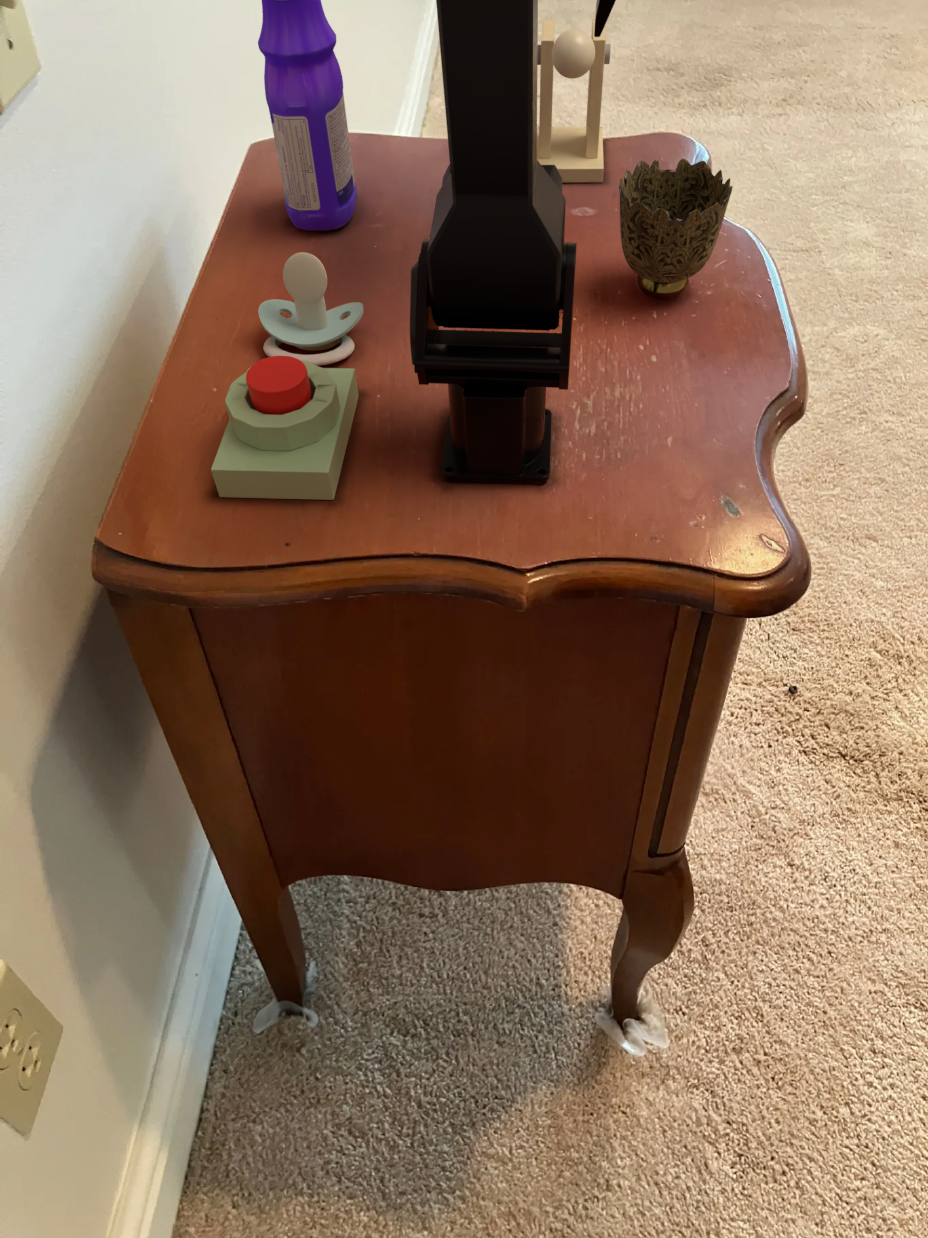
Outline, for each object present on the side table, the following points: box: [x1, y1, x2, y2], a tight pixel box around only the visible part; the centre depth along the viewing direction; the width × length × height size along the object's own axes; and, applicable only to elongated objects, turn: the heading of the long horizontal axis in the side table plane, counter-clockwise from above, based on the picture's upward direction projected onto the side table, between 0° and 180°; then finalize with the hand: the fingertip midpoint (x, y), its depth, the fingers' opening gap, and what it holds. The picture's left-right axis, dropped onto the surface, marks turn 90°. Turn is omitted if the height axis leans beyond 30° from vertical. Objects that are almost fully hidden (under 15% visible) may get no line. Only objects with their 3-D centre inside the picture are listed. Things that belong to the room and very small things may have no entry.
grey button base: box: [210, 361, 360, 501], centre depth 58 cm, size 10×7×4 cm
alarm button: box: [246, 356, 311, 415], centre depth 56 cm, size 4×4×2 cm
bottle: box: [257, 0, 358, 231], centre depth 71 cm, size 7×6×17 cm
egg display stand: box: [537, 18, 611, 183], centre depth 78 cm, size 8×6×10 cm
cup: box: [618, 158, 733, 301], centre depth 66 cm, size 8×7×8 cm
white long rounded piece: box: [552, 28, 595, 80], centre depth 73 cm, size 10×3×3 cm, turn 176°
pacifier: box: [257, 251, 364, 367], centre depth 64 cm, size 7×6×6 cm
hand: (529, 33), depth 64 cm, fingers open, 9 cm apart
